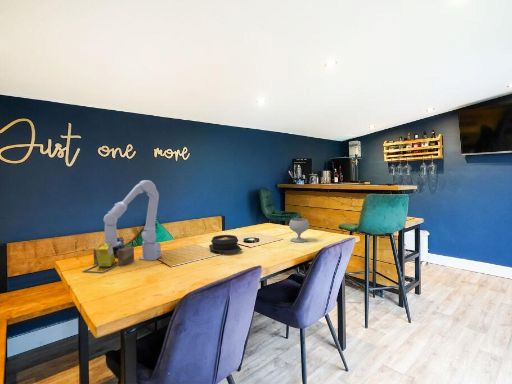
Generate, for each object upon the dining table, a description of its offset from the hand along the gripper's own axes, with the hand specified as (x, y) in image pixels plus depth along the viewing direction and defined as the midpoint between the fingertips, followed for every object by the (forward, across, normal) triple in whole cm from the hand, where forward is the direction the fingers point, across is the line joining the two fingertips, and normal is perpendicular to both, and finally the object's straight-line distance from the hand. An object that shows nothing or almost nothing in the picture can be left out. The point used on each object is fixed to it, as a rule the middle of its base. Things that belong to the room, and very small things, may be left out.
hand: (111, 261), depth 150 cm
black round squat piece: (+2, -35, +52) cm, 63 cm away
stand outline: (+1, +8, 0) cm, 8 cm away
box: (+1, -13, -7) cm, 15 cm away
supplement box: (0, +4, 0) cm, 4 cm away
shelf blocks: (+1, -2, 0) cm, 2 cm away
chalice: (+1, -68, +97) cm, 118 cm away
